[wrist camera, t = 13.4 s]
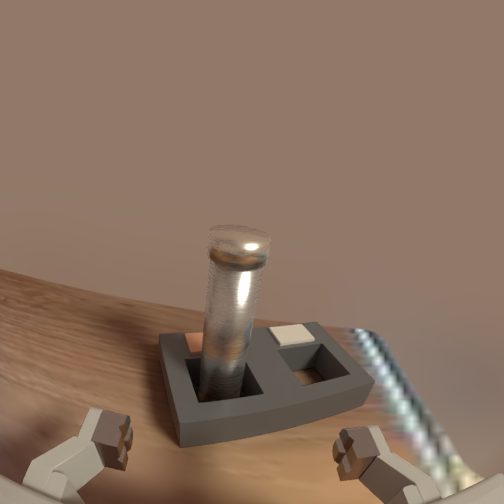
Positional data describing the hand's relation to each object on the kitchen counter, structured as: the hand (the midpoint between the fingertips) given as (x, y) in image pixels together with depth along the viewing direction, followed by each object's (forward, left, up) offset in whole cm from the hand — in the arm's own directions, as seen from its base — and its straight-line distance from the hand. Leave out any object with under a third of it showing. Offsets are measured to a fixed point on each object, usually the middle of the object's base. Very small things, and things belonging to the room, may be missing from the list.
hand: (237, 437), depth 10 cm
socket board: (+7, +11, -9) cm, 16 cm away
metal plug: (+3, +10, -9) cm, 14 cm away
